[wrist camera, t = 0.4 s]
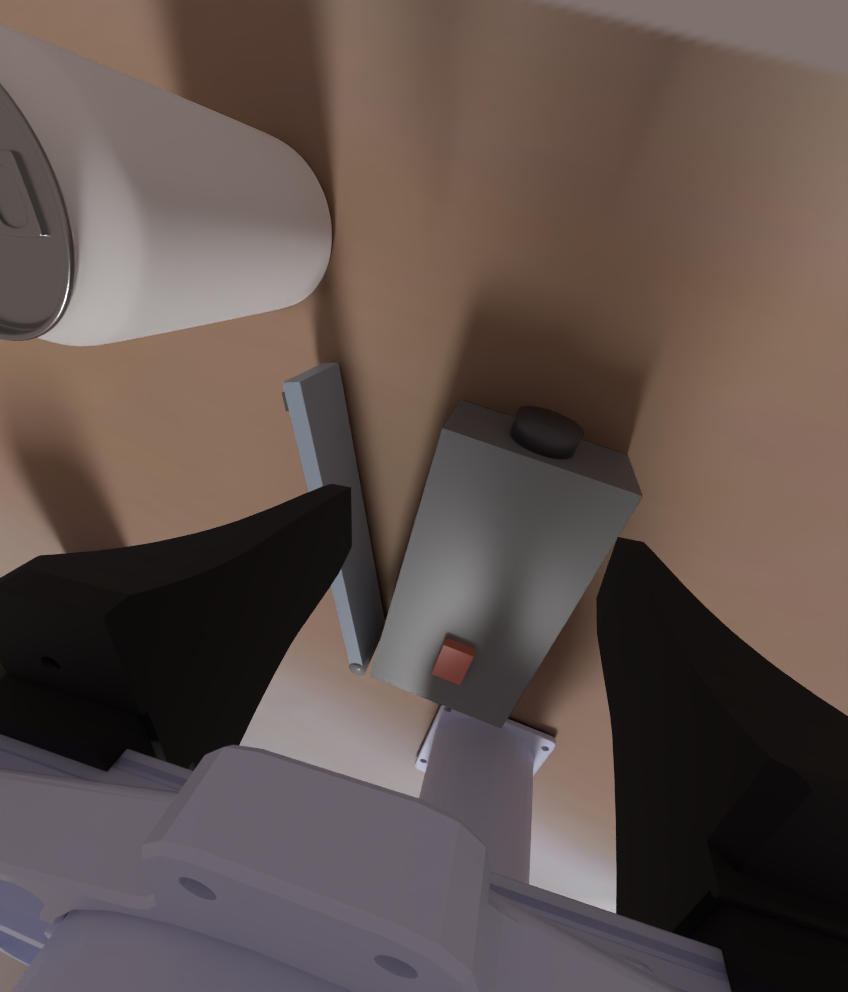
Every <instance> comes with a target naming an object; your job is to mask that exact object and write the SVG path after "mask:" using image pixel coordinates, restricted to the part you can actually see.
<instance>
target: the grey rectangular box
mask: <svg viewBox="0 0 848 992" xmlns="http://www.w3.org/2000/svg"><path fill="white" fill-rule="evenodd" d="M583 434H584V431H583V429H582V428H581V427H580V426H579V425H578V424H577V423H575V422H574V421H572V420H571V419H569V418H567V417H565V416H563V415H561V414H558V413H556V412H553V411H550V410H547V409H543V408H539V407H532V406H525V407H521V408H519V409H518V412H517V414H516V417H512V416H509V415H506V414H503V413H500V412H497V411H494V410H491V409H488V408H485V407H482V406H479V405H476V404H473V403H470V402H466V401H463V400H460V401H459V402H458V404H457V406H456V407H455V409H454V410H453V412H452V413H451V415H450V417H449V418H448V420H447V421H446V423H445V424H444V426H443V428H442V430H441V434H440V437H439V441H438V444H437V448H436V451H435V454H434V458H433V461H432V464H431V468H430V471H429V475H428V478H427V482H426V485H425V488H424V492H423V495H422V499H421V502H420V506H419V509H418V512H417V516H416V519H415V523H414V526H413V530H412V533H411V536H410V540H409V543H408V547H407V550H406V554H405V557H404V560H403V564H402V567H401V571H400V574H399V578H398V581H397V584H396V588H395V591H394V595H393V598H392V601H391V605H390V608H389V612H388V615H387V619H386V622H385V625H384V629H383V632H382V636H381V639H380V643H379V646H378V649H377V653H376V656H375V660H374V663H373V667H372V670H371V674H370V676H371V677H373V678H376V679H378V680H381V681H383V682H386V683H388V684H391V685H393V686H396V687H398V688H401V689H403V690H406V691H408V692H411V693H413V694H416V695H418V696H421V697H423V698H426V699H428V700H431V701H433V702H436V703H438V704H441V705H443V706H446V707H448V708H451V709H453V710H456V711H458V712H461V713H463V714H466V715H468V716H471V717H473V718H476V719H478V720H481V721H483V722H486V723H488V724H491V725H493V726H496V727H498V728H501V729H502V727H503V725H504V724H505V722H506V720H507V719H508V717H509V715H510V714H511V712H512V710H513V709H514V707H515V705H516V704H517V702H518V701H519V699H520V697H521V696H522V694H523V692H524V691H525V689H526V687H527V686H528V684H529V682H530V681H531V679H532V678H533V676H534V674H535V673H536V671H537V669H538V668H539V666H540V664H541V663H542V661H543V659H544V658H545V656H546V654H547V653H548V651H549V650H550V648H551V646H552V645H553V643H554V641H555V640H556V638H557V636H558V635H559V633H560V631H561V630H562V628H563V627H564V625H565V623H566V622H567V620H568V618H569V617H570V615H571V613H572V612H573V610H574V608H575V607H576V605H577V603H578V602H579V600H580V599H581V597H582V595H583V594H584V592H585V590H586V589H587V587H588V585H589V584H590V582H591V580H592V579H593V577H594V576H595V574H596V572H597V571H598V569H599V567H600V566H601V564H602V562H603V561H604V559H605V557H606V556H607V554H608V552H609V551H610V549H611V548H612V546H613V544H614V543H615V541H616V539H617V537H618V536H619V534H620V533H621V531H622V529H623V528H624V526H625V525H626V523H627V521H628V520H629V518H630V516H631V515H632V513H633V511H634V510H635V508H636V506H637V505H638V503H639V501H640V500H641V498H642V497H643V496H642V493H641V490H640V487H639V485H638V482H637V479H636V477H635V474H634V471H633V468H632V466H631V463H630V460H629V458H628V455H626V454H623V453H620V452H617V451H614V450H611V449H608V448H605V447H602V446H599V445H596V444H593V443H590V442H587V441H584V440H581V438H582V436H583Z"/></svg>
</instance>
